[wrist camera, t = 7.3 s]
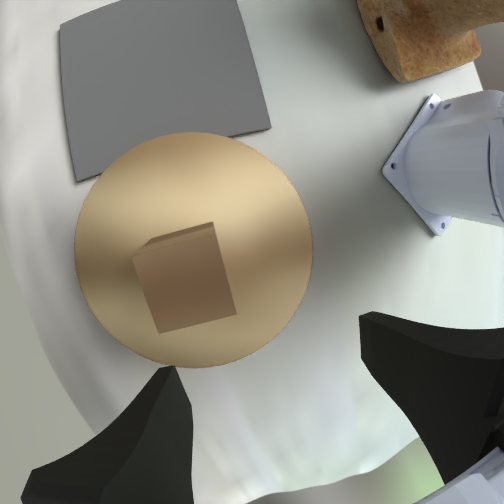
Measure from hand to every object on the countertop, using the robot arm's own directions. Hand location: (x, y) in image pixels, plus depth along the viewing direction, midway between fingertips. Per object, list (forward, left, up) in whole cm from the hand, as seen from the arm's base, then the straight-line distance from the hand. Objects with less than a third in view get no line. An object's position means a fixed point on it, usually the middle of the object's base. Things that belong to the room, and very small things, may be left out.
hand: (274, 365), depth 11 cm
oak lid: (0, -4, -6) cm, 7 cm away
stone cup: (-27, -2, -10) cm, 29 cm away
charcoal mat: (-8, -14, -10) cm, 19 cm away
